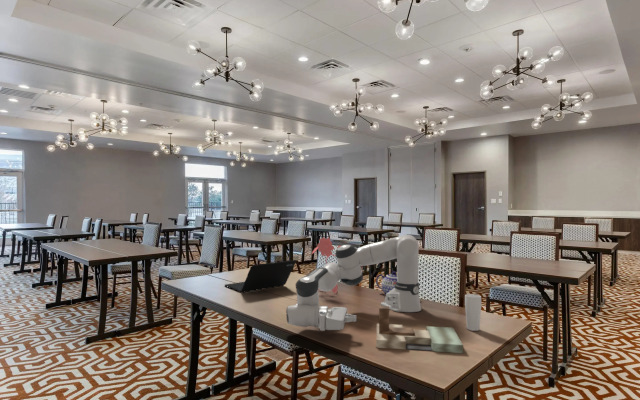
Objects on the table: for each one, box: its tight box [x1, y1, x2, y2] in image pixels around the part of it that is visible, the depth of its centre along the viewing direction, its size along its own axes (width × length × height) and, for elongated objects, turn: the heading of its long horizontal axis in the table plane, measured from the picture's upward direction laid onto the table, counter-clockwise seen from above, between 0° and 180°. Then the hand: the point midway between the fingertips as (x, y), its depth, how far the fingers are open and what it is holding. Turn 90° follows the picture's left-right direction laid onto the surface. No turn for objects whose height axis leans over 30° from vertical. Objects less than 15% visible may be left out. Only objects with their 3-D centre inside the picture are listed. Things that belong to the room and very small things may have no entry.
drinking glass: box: [464, 293, 482, 332], centre depth 166 cm, size 7×7×15 cm
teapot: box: [375, 270, 397, 295], centre depth 228 cm, size 25×15×15 cm, turn 48°
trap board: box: [375, 323, 464, 354], centre depth 152 cm, size 32×20×3 cm, turn 81°
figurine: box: [311, 236, 341, 295], centre depth 233 cm, size 15×26×35 cm, turn 51°
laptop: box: [224, 259, 297, 293], centre depth 247 cm, size 33×38×19 cm
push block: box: [378, 305, 415, 336], centre depth 153 cm, size 14×6×10 cm, turn 81°
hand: (356, 318), depth 155 cm, fingers closed
